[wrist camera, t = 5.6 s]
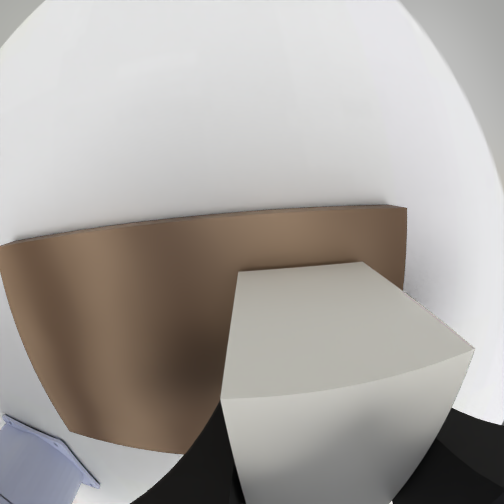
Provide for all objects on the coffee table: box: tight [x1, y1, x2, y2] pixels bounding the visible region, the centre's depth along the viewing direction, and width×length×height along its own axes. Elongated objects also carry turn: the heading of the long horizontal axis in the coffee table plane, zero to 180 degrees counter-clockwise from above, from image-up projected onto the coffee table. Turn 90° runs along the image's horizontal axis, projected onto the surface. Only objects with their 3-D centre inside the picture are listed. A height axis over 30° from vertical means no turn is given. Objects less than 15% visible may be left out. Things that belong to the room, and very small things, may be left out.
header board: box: [0, 205, 407, 454], centre depth 9 cm, size 18×12×4 cm, turn 94°
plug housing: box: [220, 262, 475, 504], centre depth 7 cm, size 4×8×6 cm, turn 4°
